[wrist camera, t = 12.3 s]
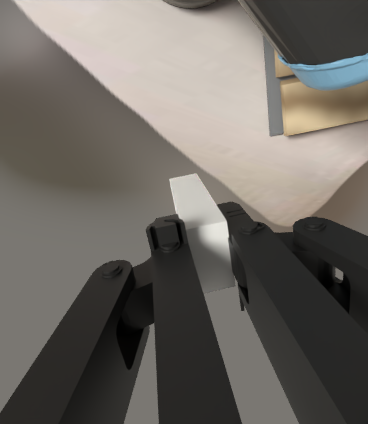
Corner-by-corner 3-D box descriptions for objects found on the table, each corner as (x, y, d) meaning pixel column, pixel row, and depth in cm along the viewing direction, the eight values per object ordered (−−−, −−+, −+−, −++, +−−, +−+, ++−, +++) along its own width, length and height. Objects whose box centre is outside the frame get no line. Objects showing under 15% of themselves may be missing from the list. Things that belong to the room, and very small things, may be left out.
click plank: (279, 81, 43) (283, 80, 42) (393, 59, 43) (398, 57, 42) (284, 135, 45) (287, 135, 44) (391, 113, 46) (397, 113, 45)
